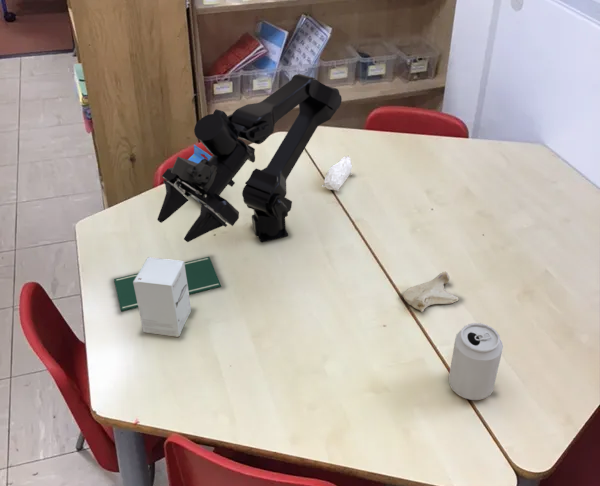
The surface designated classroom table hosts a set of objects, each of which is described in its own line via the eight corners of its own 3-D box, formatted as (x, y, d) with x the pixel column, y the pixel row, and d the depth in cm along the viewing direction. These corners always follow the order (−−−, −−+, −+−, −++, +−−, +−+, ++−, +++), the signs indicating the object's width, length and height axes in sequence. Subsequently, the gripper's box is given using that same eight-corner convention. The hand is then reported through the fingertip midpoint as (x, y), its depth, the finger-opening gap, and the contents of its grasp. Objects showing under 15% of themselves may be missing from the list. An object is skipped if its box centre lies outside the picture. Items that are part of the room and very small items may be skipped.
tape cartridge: (185, 193, 163) (179, 149, 156) (199, 187, 166) (193, 143, 158) (206, 209, 158) (200, 163, 151) (219, 202, 160) (215, 157, 153)
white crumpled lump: (331, 176, 171) (318, 187, 162) (339, 151, 168) (326, 162, 159) (349, 183, 170) (337, 195, 161) (357, 158, 167) (345, 169, 158)
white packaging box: (179, 338, 124) (171, 286, 117) (142, 332, 125) (131, 281, 118) (193, 310, 130) (185, 260, 123) (156, 306, 131) (147, 255, 124)
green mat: (209, 257, 143) (209, 256, 143) (221, 286, 135) (221, 285, 135) (114, 280, 138) (113, 278, 137) (121, 311, 130) (120, 310, 130)
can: (443, 370, 117) (450, 320, 110) (485, 367, 117) (496, 317, 110) (454, 405, 111) (463, 354, 103) (499, 401, 111) (511, 351, 104)
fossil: (465, 298, 131) (467, 285, 129) (419, 316, 127) (420, 303, 125) (443, 278, 136) (445, 265, 134) (399, 295, 132) (400, 281, 130)
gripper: (171, 127, 128) (119, 191, 126) (230, 159, 117) (173, 230, 114) (204, 159, 137) (155, 219, 135) (261, 192, 125) (209, 259, 123)
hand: (172, 230), depth 126 cm, fingers open, 9 cm apart
